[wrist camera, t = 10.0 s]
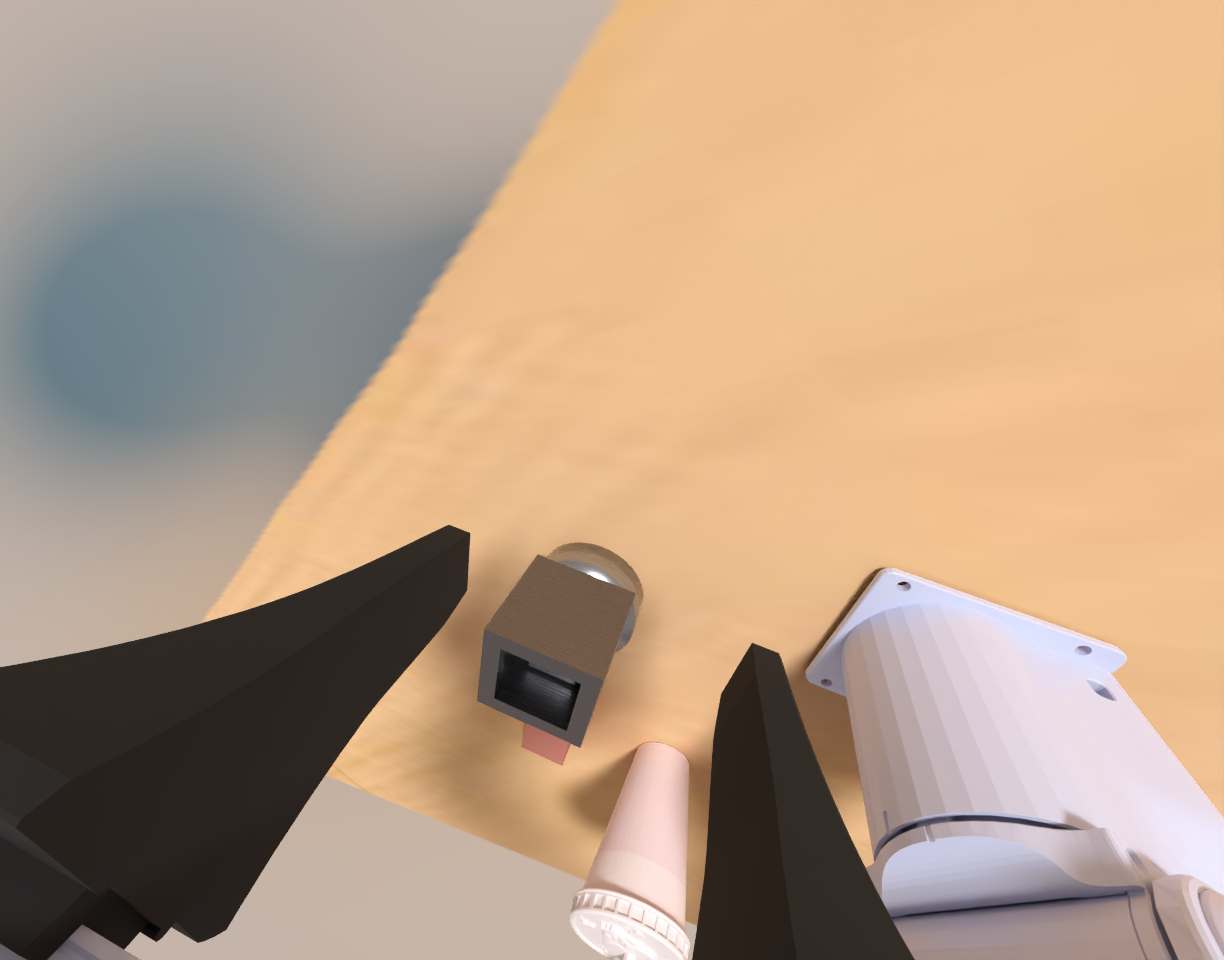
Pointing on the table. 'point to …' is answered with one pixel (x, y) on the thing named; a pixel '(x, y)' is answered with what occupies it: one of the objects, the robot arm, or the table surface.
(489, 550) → the table surface
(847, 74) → the table surface
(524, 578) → the hollow square tube
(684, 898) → the smoothie
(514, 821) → the table surface
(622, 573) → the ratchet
